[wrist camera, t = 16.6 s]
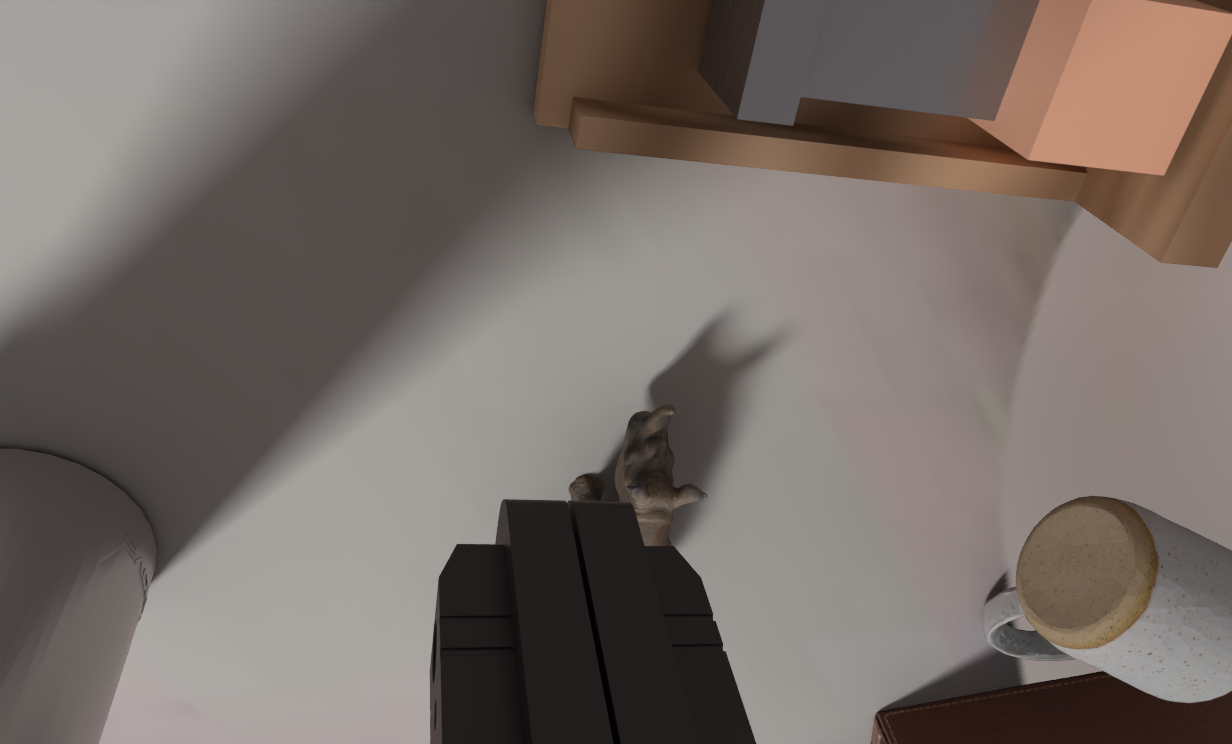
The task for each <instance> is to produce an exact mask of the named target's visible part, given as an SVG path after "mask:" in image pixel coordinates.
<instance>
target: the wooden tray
mask: <svg viewBox="0 0 1232 744" xmlns="http://www.w3.org/2000/svg"><path fill="white" fill-rule="evenodd" d="M1196 1H1199V2H1202V3H1205V4H1207V5H1210V6H1213V7H1216V8H1219V9H1222V10H1225V11H1228V12H1231V13H1232V0H1196ZM711 5H712V0H547V2H546V10H545V19H544V27H543V35H542V43H541V51H540V59H539V67H538V75H537V84H536V92H535V100H534V108H533V115H534V118H535V122H536V125H540V126H549V127H558V128H567V129H569V132H570V134H571V137H572V140H573V142H574V145H575V148H576V149H583V150H592V151H601V152H611V153H620V154H630V155H639V156H649V157H658V158H668V159H677V160H686V161H696V162H705V163H715V164H724V165H734V166H743V167H753V168H762V169H771V170H781V171H790V172H800V173H809V174H819V175H828V176H838V177H847V178H856V179H866V180H875V181H885V182H894V183H904V184H913V185H923V186H932V187H942V188H951V189H960V190H970V191H979V192H989V193H998V194H1008V195H1017V196H1027V197H1036V198H1045V199H1055V200H1064V201H1074V202H1076V203H1077V204H1079V205H1080V206H1082V207H1083V208H1084V209H1086V210H1087V211H1089V212H1090V213H1092V214H1093V215H1094V216H1096V217H1097V218H1099V219H1100V220H1101V221H1103V222H1104V223H1106V224H1107V225H1109V226H1110V227H1111V228H1113V229H1114V230H1116V231H1117V232H1118V233H1120V234H1121V235H1123V236H1124V237H1125V238H1127V239H1128V240H1130V241H1131V242H1132V243H1134V244H1135V245H1137V246H1138V247H1140V248H1141V249H1143V250H1144V251H1145V252H1147V253H1148V254H1150V255H1151V256H1152V257H1154V258H1155V259H1156V260H1158V261H1159V262H1161V263H1170V264H1182V265H1192V266H1203V267H1214V268H1217V267H1218V266H1219V264H1220V262H1221V260H1222V258H1223V256H1224V254H1225V252H1226V251H1227V249H1228V247H1229V245H1230V243H1231V241H1232V35H1231V37H1230V39H1229V42H1228V44H1227V46H1226V48H1225V50H1224V52H1223V54H1222V56H1221V58H1220V60H1219V62H1218V64H1217V66H1216V69H1215V71H1214V73H1213V75H1212V77H1211V79H1210V81H1209V83H1208V85H1207V87H1206V89H1205V91H1204V94H1203V96H1202V98H1201V100H1200V102H1199V104H1198V106H1197V108H1196V110H1195V112H1194V114H1193V116H1192V118H1191V121H1190V123H1189V125H1188V127H1187V129H1186V131H1185V133H1184V135H1183V137H1182V139H1181V141H1180V143H1179V146H1178V148H1177V150H1176V152H1175V154H1174V156H1173V158H1172V160H1171V162H1170V164H1169V166H1168V168H1167V170H1166V173H1165V175H1164V176H1162V175H1154V174H1145V173H1136V172H1128V171H1119V170H1110V169H1102V168H1093V167H1084V166H1076V165H1067V164H1059V163H1050V162H1041V161H1033V160H1027V159H1026V158H1024V157H1023V156H1021V155H1020V154H1019V153H1017V152H1016V151H1014V150H1013V149H1011V148H1010V147H1008V146H1007V145H1006V144H1004V143H1003V142H1001V141H1000V140H998V139H997V138H995V137H994V136H993V135H991V134H990V133H988V132H987V131H985V130H984V129H983V128H981V127H980V126H978V125H977V124H975V123H974V122H972V121H971V120H970V119H968V118H966V117H958V116H950V115H942V114H934V113H926V112H918V111H910V110H902V109H894V108H885V107H877V106H869V105H861V104H853V103H845V102H837V101H829V100H821V99H813V98H805V97H801V98H800V102H799V105H798V109H797V113H796V117H795V121H794V124H793V126H791V125H782V124H774V123H765V122H757V121H748V120H740V119H736V117H735V116H734V115H733V114H732V112H731V111H730V110H729V109H728V108H727V106H726V105H725V104H724V103H723V102H722V100H721V99H720V98H719V97H718V96H717V94H716V93H715V92H714V91H713V89H712V88H711V87H710V86H709V85H708V83H707V82H706V81H705V80H704V79H703V77H702V76H701V75H700V74H699V73H698V67H699V62H700V58H701V53H702V48H703V43H704V38H705V34H706V29H707V24H708V19H709V14H710V9H711Z"/></svg>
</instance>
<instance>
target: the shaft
mask: <svg viewBox="0 0 1232 744" xmlns="http://www.w3.org/2000/svg"><path fill="white" fill-rule="evenodd" d="M1039 1H1040V0H712V5H711V9H710V14H709V19H708V24H707V29H706V34H705V38H704V43H703V48H702V53H701V58H700V62H699V67H698V73H699V74H700V75H701V76H702V77H703V79H704V80H705V81H706V82H707V83H708V85H709V86H710V87H711V88H712V89H713V91H714V92H715V93H716V94H717V96H718V97H719V98H720V99H721V100H722V102H723V103H724V104H725V105H726V106H727V108H728V109H729V110H730V111H731V112H732V114H733V115H734V116H735V117H736V119H740V120H748V121H757V122H765V123H774V124H782V125H791V126H793V124H794V121H795V117H796V113H797V109H798V105H799V102H800V98H801V97H805V98H813V99H821V100H829V101H837V102H845V103H853V104H861V105H869V106H877V107H885V108H894V109H902V110H910V111H918V112H926V113H934V114H942V115H950V116H958V117H966V118H974V119H982V120H990V121H995V119H996V116H997V113H998V111H999V108H1000V105H1001V103H1002V100H1003V97H1004V95H1005V92H1006V89H1007V87H1008V84H1009V81H1010V79H1011V76H1012V73H1013V71H1014V68H1015V65H1016V63H1017V60H1018V57H1019V55H1020V52H1021V49H1022V47H1023V44H1024V41H1025V39H1026V36H1027V33H1028V31H1029V28H1030V25H1031V23H1032V20H1033V17H1034V15H1035V12H1036V9H1037V7H1038V4H1039Z"/></svg>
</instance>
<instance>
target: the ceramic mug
mask: <svg viewBox="0 0 1232 744" xmlns="http://www.w3.org/2000/svg"><path fill="white" fill-rule="evenodd" d="M1016 586H1017V587H1013V588H1009V589H1007V590H1004V591H1002V592H1000V593H998V594H997V595H996V596H994V597H992V598H991V599H990V600H988V601H987V602H986V604H985V605H984V607H983V610H982V617H983V623H984V629H985V635H986V638H987V641H988V642H989V643H990V645H992V646H993V647H994V648H995V649H997V650H998V651H1000V652H1002V653H1004V654H1007V655H1010V656H1014V657H1018V658H1022V659H1030V660H1039V661H1060V660H1071V659H1078V660H1080V661H1082V662H1084V663H1086V664H1089V665H1092V666H1094V667H1096V668H1098V669H1100V670H1102V671H1104V672H1106V673H1108V674H1110V675H1112V676H1114V677H1116V678H1118V679H1120V680H1122V681H1124V682H1126V683H1128V684H1130V685H1132V686H1134V687H1136V688H1137V689H1139V690H1142V691H1144V692H1146V693H1148V694H1151V695H1153V696H1156V697H1158V698H1161V699H1164V700H1168V701H1173V702H1183V703H1193V702H1202V701H1208V700H1212V699H1214V698H1217V697H1220V696H1223V695H1225V694H1227V693H1229V692H1230V691H1232V551H1231V550H1229V549H1227V548H1225V547H1223V546H1221V545H1219V544H1218V543H1215V542H1214V541H1211V540H1209V539H1207V538H1205V537H1203V536H1201V535H1199V534H1197V533H1195V532H1193V531H1191V530H1189V529H1187V528H1184V527H1182V526H1180V525H1178V524H1176V523H1173V522H1171V521H1169V520H1167V519H1165V518H1163V517H1161V516H1159V515H1158V514H1156V513H1154V512H1152V511H1150V510H1148V509H1145V508H1143V507H1141V506H1138V505H1136V504H1134V503H1130V502H1127V501H1123V500H1119V499H1115V498H1109V497H1099V496H1098V497H1097V496H1090V497H1081V498H1077V499H1074V500H1072V501H1069V502H1067V503H1065V504H1062V505H1060V506H1058V507H1057V508H1055V509H1053V510H1052V511H1051V512H1050V513H1049V514H1047V515H1046V516H1045V517H1044V518H1043V519H1042V520H1041V521H1040V522H1039V523H1038V524H1037V525H1036V526H1035V527H1034V529H1033V530H1032V532H1031V533H1030V535H1029V536H1028V538H1027V540H1026V542H1025V544H1024V546H1023V548H1022V550H1021V553H1020V556H1019V560H1018V564H1017V572H1016ZM1022 616H1026V618H1027V620H1028V621H1029V622H1030V624H1031V625H1032V626H1033V627H1034V628H1035V630H1036V631H1025V630H1018V629H1015V628H1013V627H1011V626H1009V625H1008V624H1006V623H1007V622H1009V621H1012V620H1014V619H1018V618H1020V617H1022Z"/></svg>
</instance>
